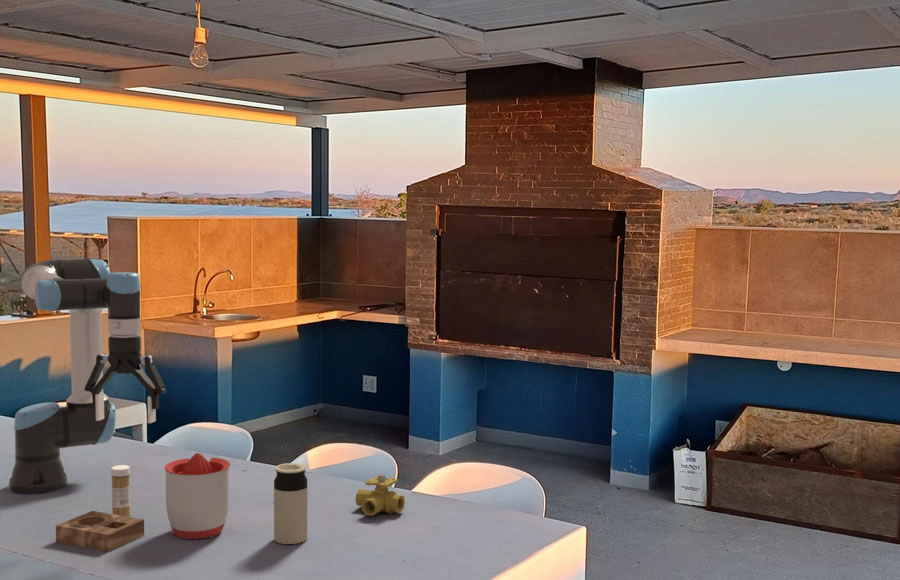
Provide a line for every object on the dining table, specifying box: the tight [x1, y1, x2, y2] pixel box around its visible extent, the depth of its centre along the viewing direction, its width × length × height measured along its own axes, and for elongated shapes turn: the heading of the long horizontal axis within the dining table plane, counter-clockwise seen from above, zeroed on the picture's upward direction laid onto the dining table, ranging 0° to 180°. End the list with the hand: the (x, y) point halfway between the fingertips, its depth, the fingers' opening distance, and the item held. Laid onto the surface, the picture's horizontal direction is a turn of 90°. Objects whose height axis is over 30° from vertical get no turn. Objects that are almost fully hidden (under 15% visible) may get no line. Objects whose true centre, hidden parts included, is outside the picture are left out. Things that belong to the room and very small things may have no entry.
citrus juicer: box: [164, 452, 231, 540], centre depth 230 cm, size 16×17×20 cm
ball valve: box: [354, 473, 406, 517], centre depth 247 cm, size 13×10×10 cm
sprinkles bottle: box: [110, 464, 132, 517], centre depth 240 cm, size 5×5×14 cm
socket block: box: [55, 510, 145, 553], centre depth 225 cm, size 16×12×4 cm
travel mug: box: [273, 462, 308, 545], centre depth 225 cm, size 8×8×18 cm
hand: (125, 421), depth 230 cm, fingers open, 13 cm apart
